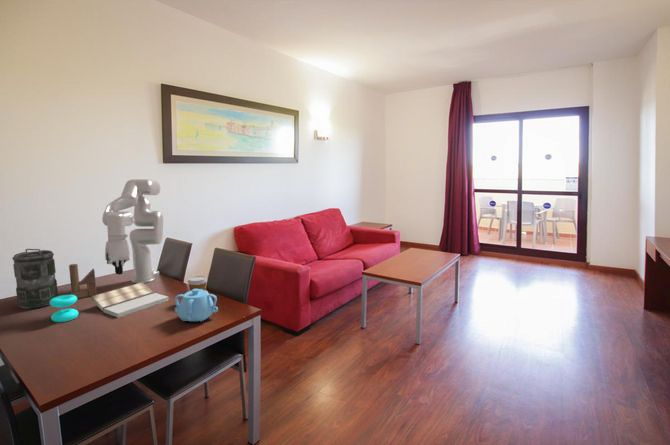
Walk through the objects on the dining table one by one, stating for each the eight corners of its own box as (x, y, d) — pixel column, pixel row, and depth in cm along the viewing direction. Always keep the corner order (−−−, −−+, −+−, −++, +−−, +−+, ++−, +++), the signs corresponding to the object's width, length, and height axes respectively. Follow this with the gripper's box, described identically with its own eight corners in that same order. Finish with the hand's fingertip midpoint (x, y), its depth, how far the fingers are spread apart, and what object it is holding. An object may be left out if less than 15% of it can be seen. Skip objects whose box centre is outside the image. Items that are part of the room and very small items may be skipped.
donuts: (82, 294, 171) (63, 302, 161) (84, 315, 172) (65, 324, 162) (63, 293, 172) (43, 300, 162) (65, 313, 174) (45, 322, 164)
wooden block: (96, 295, 198) (93, 262, 195) (72, 299, 191) (68, 266, 188) (95, 293, 201) (92, 261, 198) (71, 297, 194) (68, 264, 191)
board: (154, 296, 198) (154, 291, 197) (168, 300, 192) (168, 295, 191) (103, 312, 176) (103, 307, 175) (118, 317, 170) (117, 312, 169)
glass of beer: (197, 296, 198) (196, 274, 196) (212, 298, 195) (211, 276, 193) (184, 302, 189) (183, 279, 187) (199, 305, 186) (198, 282, 184)
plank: (142, 285, 202) (142, 282, 202) (153, 295, 198) (153, 291, 198) (91, 299, 180) (91, 296, 180) (102, 311, 176) (102, 307, 175)
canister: (9, 309, 177) (2, 252, 173) (35, 297, 193) (29, 245, 189) (42, 309, 177) (36, 252, 173) (66, 298, 193) (60, 245, 189)
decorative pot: (172, 316, 172) (170, 288, 170) (206, 308, 182) (205, 281, 180) (185, 328, 160) (183, 298, 158) (220, 318, 170) (219, 290, 168)
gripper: (127, 235, 194) (129, 269, 196) (97, 239, 181) (99, 276, 183) (135, 236, 190) (137, 271, 192) (105, 240, 177) (108, 278, 179)
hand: (119, 273), depth 188 cm, fingers closed
